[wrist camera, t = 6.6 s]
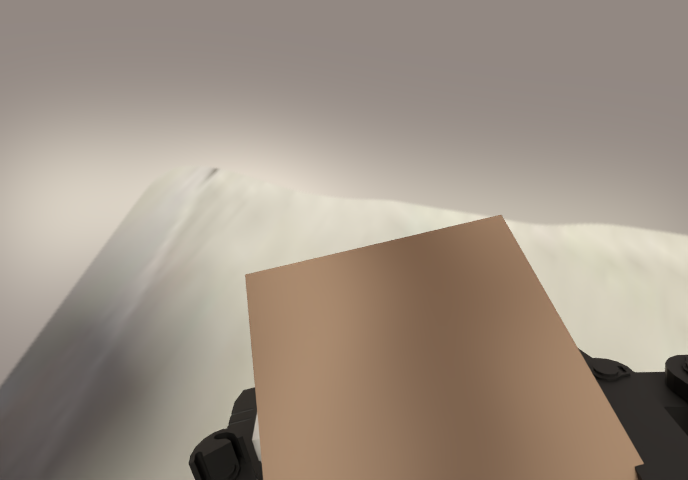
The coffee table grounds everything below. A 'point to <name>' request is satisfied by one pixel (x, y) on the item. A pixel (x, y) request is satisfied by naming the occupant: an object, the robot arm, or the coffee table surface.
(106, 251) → the coffee table surface
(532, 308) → the brown wooden block
